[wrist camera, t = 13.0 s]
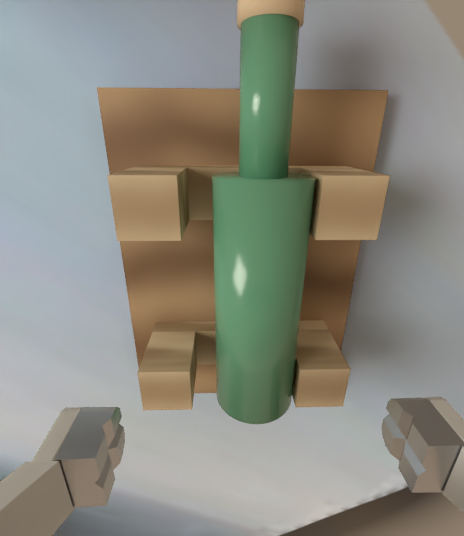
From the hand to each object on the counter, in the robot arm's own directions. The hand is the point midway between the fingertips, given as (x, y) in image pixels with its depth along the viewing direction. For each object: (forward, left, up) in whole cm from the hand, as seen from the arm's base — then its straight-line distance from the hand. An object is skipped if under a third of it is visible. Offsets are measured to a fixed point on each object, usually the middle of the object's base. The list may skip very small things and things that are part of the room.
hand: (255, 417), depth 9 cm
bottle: (+3, 0, -11) cm, 11 cm away
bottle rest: (-1, 0, -14) cm, 14 cm away
